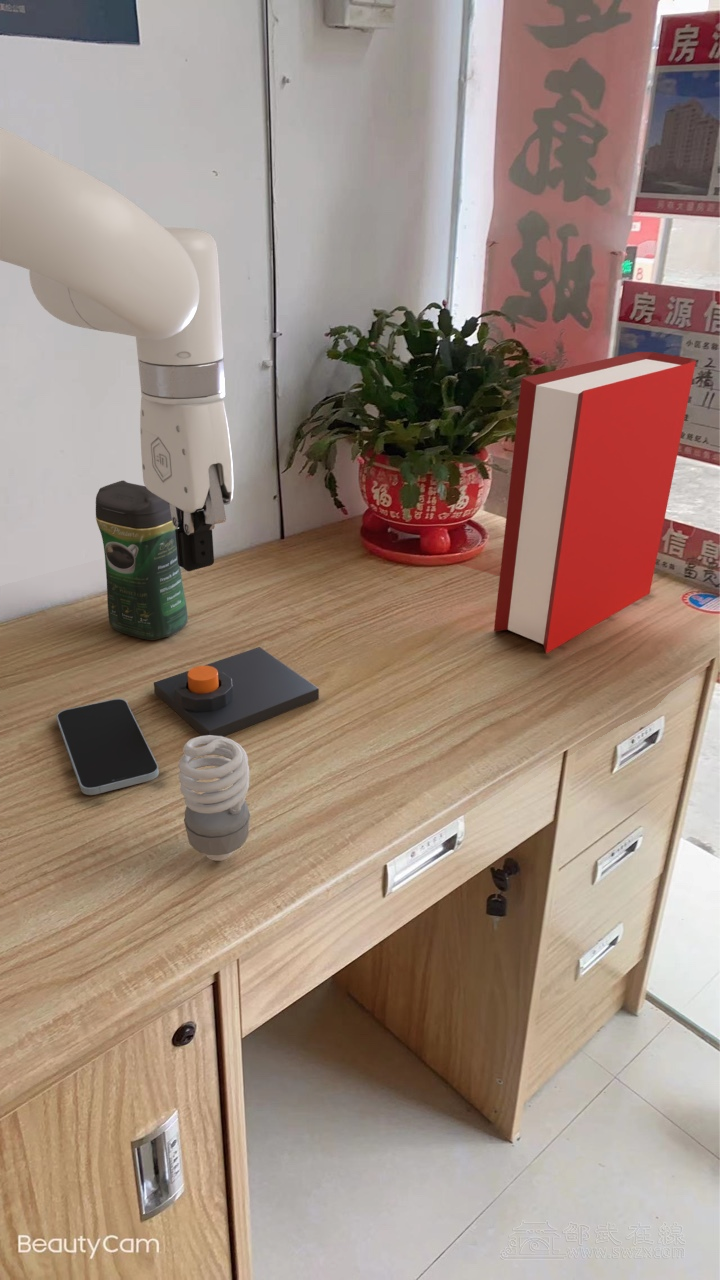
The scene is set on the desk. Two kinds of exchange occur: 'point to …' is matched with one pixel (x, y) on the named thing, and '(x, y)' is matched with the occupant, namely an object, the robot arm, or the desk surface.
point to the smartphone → (106, 746)
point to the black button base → (238, 693)
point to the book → (589, 491)
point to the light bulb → (215, 796)
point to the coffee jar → (140, 562)
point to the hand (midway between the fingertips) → (196, 565)
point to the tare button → (203, 679)
